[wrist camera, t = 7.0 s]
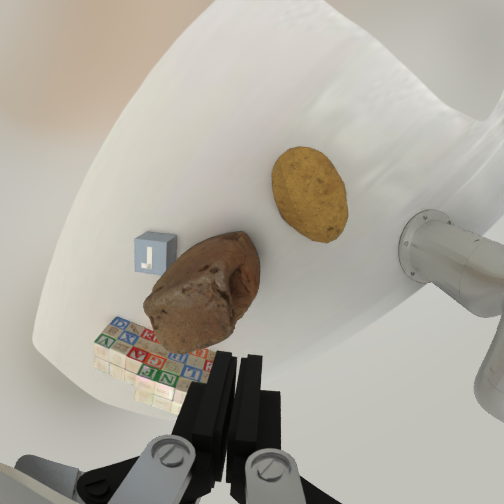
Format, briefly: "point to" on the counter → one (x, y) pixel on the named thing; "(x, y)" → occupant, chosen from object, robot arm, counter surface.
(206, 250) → the brown rock
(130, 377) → the stack of blocks
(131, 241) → the counter surface
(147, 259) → the alphabet block
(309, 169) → the potato
